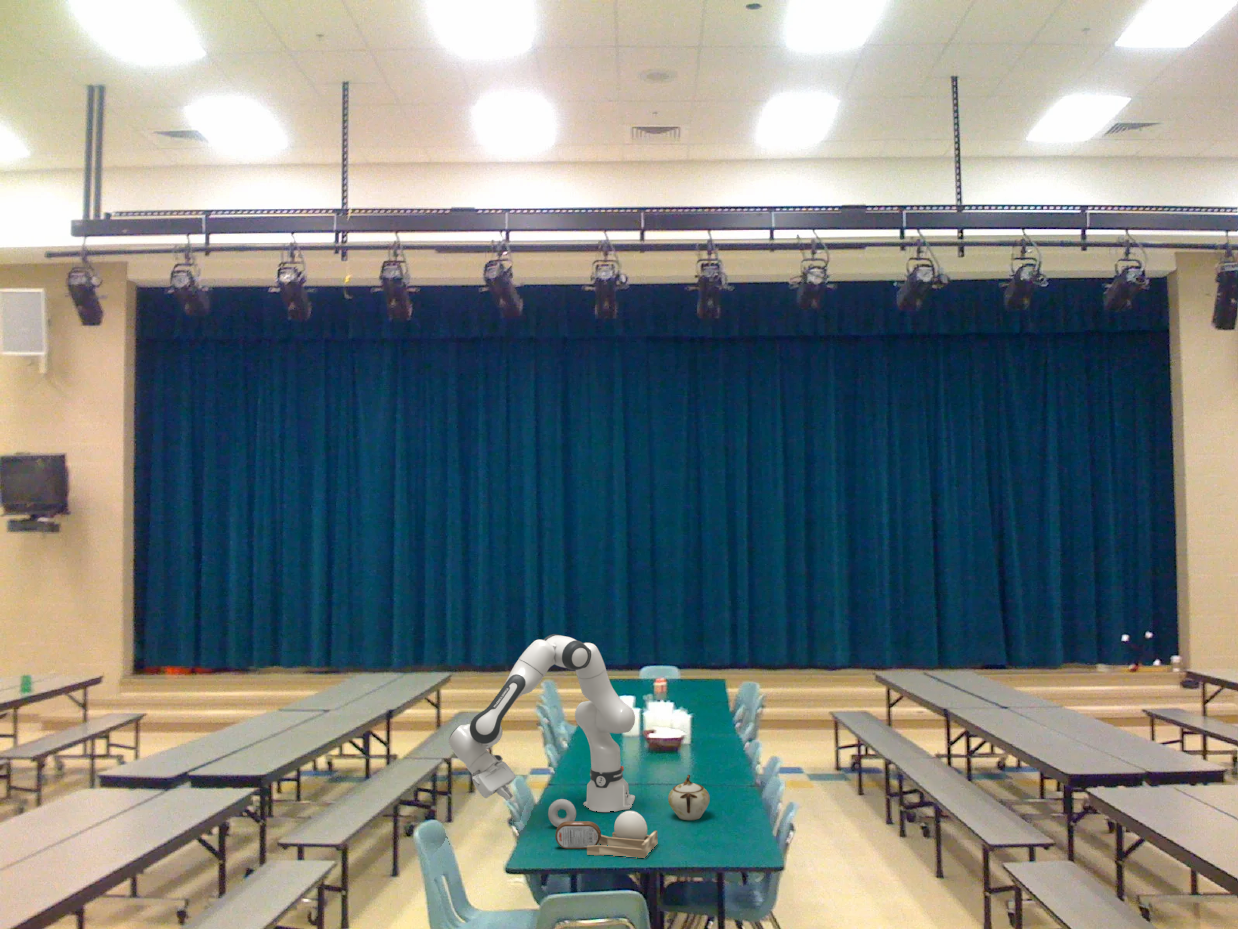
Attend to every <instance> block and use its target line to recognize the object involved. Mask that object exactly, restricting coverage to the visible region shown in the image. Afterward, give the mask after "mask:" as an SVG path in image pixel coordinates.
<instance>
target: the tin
mask: <svg viewBox="0 0 1238 929" xmlns="http://www.w3.org/2000/svg"><path fill="white" fill-rule="evenodd" d="M601 835H602V832H601V829H600V827H599V825H598V824H597V823H595V822H593V821H588V820H587V821H583V820H582V821H581V820H579V821H566V822H563V823H561V824H560V825H559V826H558V827H556V829H555V836H554V838H555V842H556V843H557V845H558V846H559V847H560V848H563V849H566V850H574V849H575V850H587V846H591V845H599V844H598V843H599V841H600V838H601Z"/></svg>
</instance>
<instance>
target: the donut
mask: <svg viewBox="0 0 1238 929" xmlns="http://www.w3.org/2000/svg"><path fill="white" fill-rule="evenodd" d="M560 810H564V811H565V813H566V816H565V817H561V816H559V815H558V812H559V811H560ZM547 816H548V820H549V822H550V823H551V824H552V825H553V826H554V827H556V828H557V827H558V826H559V825H560V824H561V823H563V822H566V821H575V820H576V817H577V810H576V807H575V805H574V804H573V802H572V801H570V800H567V799H564V798H560V799H559V798H558V799H556V800H554V801H553V802H551V804H550V805H549V807H548V813H547Z"/></svg>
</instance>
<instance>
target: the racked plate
mask: <svg viewBox="0 0 1238 929" xmlns="http://www.w3.org/2000/svg"><path fill="white" fill-rule="evenodd" d="M647 824H648V823H647V822H646V820H645V818H644V817H643V816H642V815H641V814H640V813H639V812H637V811H635V810H625V811H624V812H621V813H620V814H619V815H618V816H617V817H616V819H615V822H614V825H613V826H614V827H613V828H614V829H613V830H614V832H615V834H616V836H617V838H628V839H640V840H644V839H645V837H646V835H648V825H647Z"/></svg>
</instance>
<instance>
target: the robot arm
mask: <svg viewBox="0 0 1238 929" xmlns="http://www.w3.org/2000/svg"><path fill="white" fill-rule="evenodd" d="M554 665H555V666H557V667H560V668H564V669H568V670H570V671H575V673H576V676H577V680H578V684H579V687H580V689H581V693H582V695H583V696H584V698H586V699H587V700H586V701H582V702H580V703H579V704H578V705H577V706H576V708H575V710H574V711H575V712H574V719H575V722H576V724H577V725H578V727H580V729H581V730H582V731H583V733H584V734H585V737H586V738H587V742H588V745H589V751H590V764H591V765H590V766H591V767H590V771H589V776H590V778H589V779H590V780H589V782H588V783H587V785H586V801H584V802H582V803H583V804H582V805H584V806H583V807H585V806H586V807H585V808H587V809H588V808H589V809H588V810H589V811H593V812H596V811H597V813H611V812H610V811H614V812H618V811H622V810H623V811H624V810H625V811H627V810H631V809H632V806H633V805H634V802H635V800H636V796H635V795H634V794H630V787H629V786H630V785H629V783H628V782H627V781H626V780H625V779H624V774H623V772H624V770H625V768H624V767H625V766H623V765H621V748H620V746H619V744H618V743H617V742H616V741H615V740H614V739H613V738H612V736H611V734H625V733H628V732H629V733H630V731H631V730H632V729H633V727H634V726H635V722H636V716H635V715H636V714H635V712H634V710H633V708H632V707H631V706H629V705H628V704H626V703H625V702H624V701H623V700H622V699H621V697H620V696H619V695H618V694H617V692H616V690H615V689H614V688H613V685H612V683H611V681H610V678H609V675H608V672H607V669H606V668H607V667H606V664H605V662H604V659H603V657H602V654H601V652H600V650H599V648H598V647H597V646H596V644H594V643H591V642H582V641H580V640H577V639H575V638H573V637H570V636H565V635H561V634H559V633H557V634H555V633H553V634H550V635H547V636H546V637H545V638H543V639H536V640H533V642H532V643H531V644H530V645H528V646H527V648H526V649H525V650H524V651H523V652H522V654H521V655H520V656H519V657H518V660H517V661H516V662H515V663H514V665H513V667H512V669H511V670H510V673H509V675H508V677H507V678H506V681H505V682H504V683H503V684H504V685H503V686H502V687H501V689H500V690H499V692H497V695H496V696H495V697H494V698H493V700H492V701H491V703H490V704H489V705H488V707H486V708H485V709H484V710H482V711H481V712H479V713H478V714H476V715H475V716H474V717H473V718H472V720H471V722H470V723H468V724H460V725H458V726H457V727H456V728H455V729H453V732H452V733H450V736H449V737H448V745H449V747H450V749H451V750H452V752H453V753H454V754H455V756H456V757H457V759H458V760H459V761H460V762H462V763H463V764H464V765H465V767H466V768H467V770H468V771H469V773H470V774H471V781H473V782H472V783H473V785H474V787H475V789H476V790H477V792H478V793H479V794H480V796H481V797H482V798H484V799H487V798H489V797H490V796H493V795H494V794H495V793H497V795H499V796H500V797H502V798H503V799H504V800H505V801H509V800H511V799H512V798H513V797H514V794H513V793H512V791H511V789H510V786H509V785H510V784H511V783H512V782H514V780H515V779H516V778H517V777H516V774H515V772H514V771H513V770H512V769H511V767H510V766H509V765H508V764H507V763H506V762H505V761H503V760H504V759H503V758H504V757H503V756H501V755H500V754H492V753H490V752H489V751H488V750H489V749H490V748H492V747H493V746H495V745H497V744H498V743H499V742H500V741H501V739H502V737H503V728H502V725H501V724H502V721H503V719H504V717H505V716H506V715H507V713H508V712H509V710H511V707H513V705H514V704H515V702H516V701H517V700H518V699H519V698H520V697H522V696H523V695H527V694H529V693H531V692H533V690H535V689H536V687H537V686H539V685H540V683H541V681H542V680H543V679H544V677H545V676H546V674H547V672H548V671H549V669H550V668H551V667H553V666H554ZM632 804H633V805H632ZM630 808H631V809H630Z"/></svg>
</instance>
